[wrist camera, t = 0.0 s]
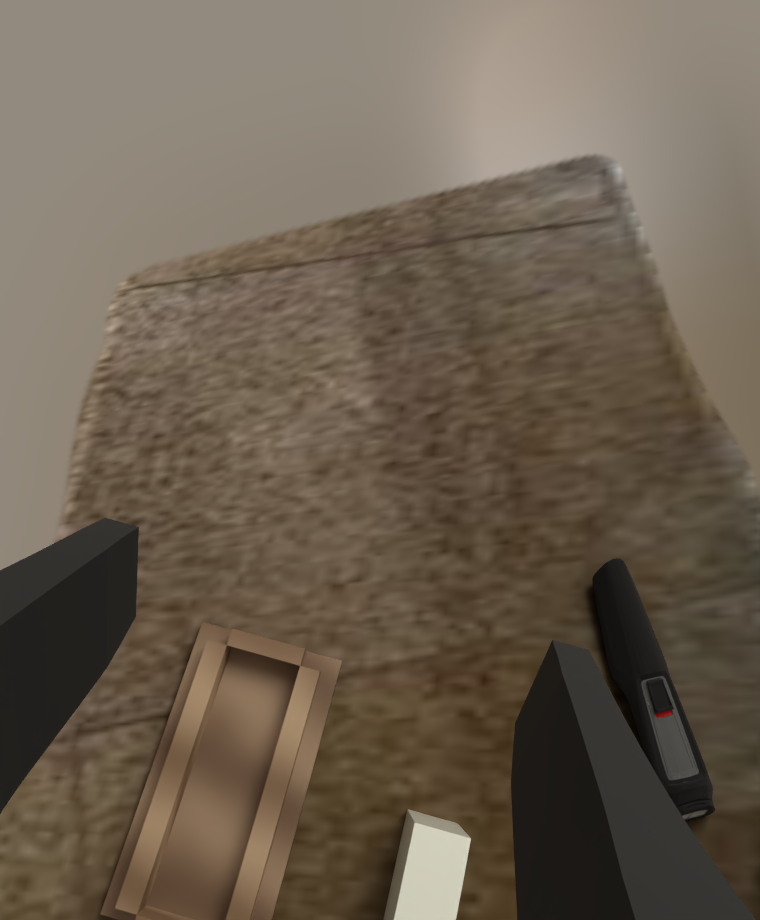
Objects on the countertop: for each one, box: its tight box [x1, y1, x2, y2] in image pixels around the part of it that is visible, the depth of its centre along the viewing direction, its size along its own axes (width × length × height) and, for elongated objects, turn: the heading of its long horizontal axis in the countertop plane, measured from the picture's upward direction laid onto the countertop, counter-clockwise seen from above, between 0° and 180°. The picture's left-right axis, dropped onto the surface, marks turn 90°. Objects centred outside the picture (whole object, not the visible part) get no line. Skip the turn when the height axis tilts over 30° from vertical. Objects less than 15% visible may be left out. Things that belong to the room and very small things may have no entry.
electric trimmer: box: [593, 559, 715, 821], centre depth 41 cm, size 4×16×3 cm, turn 12°
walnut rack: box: [100, 622, 342, 920], centre depth 38 cm, size 16×9×3 cm, turn 165°
